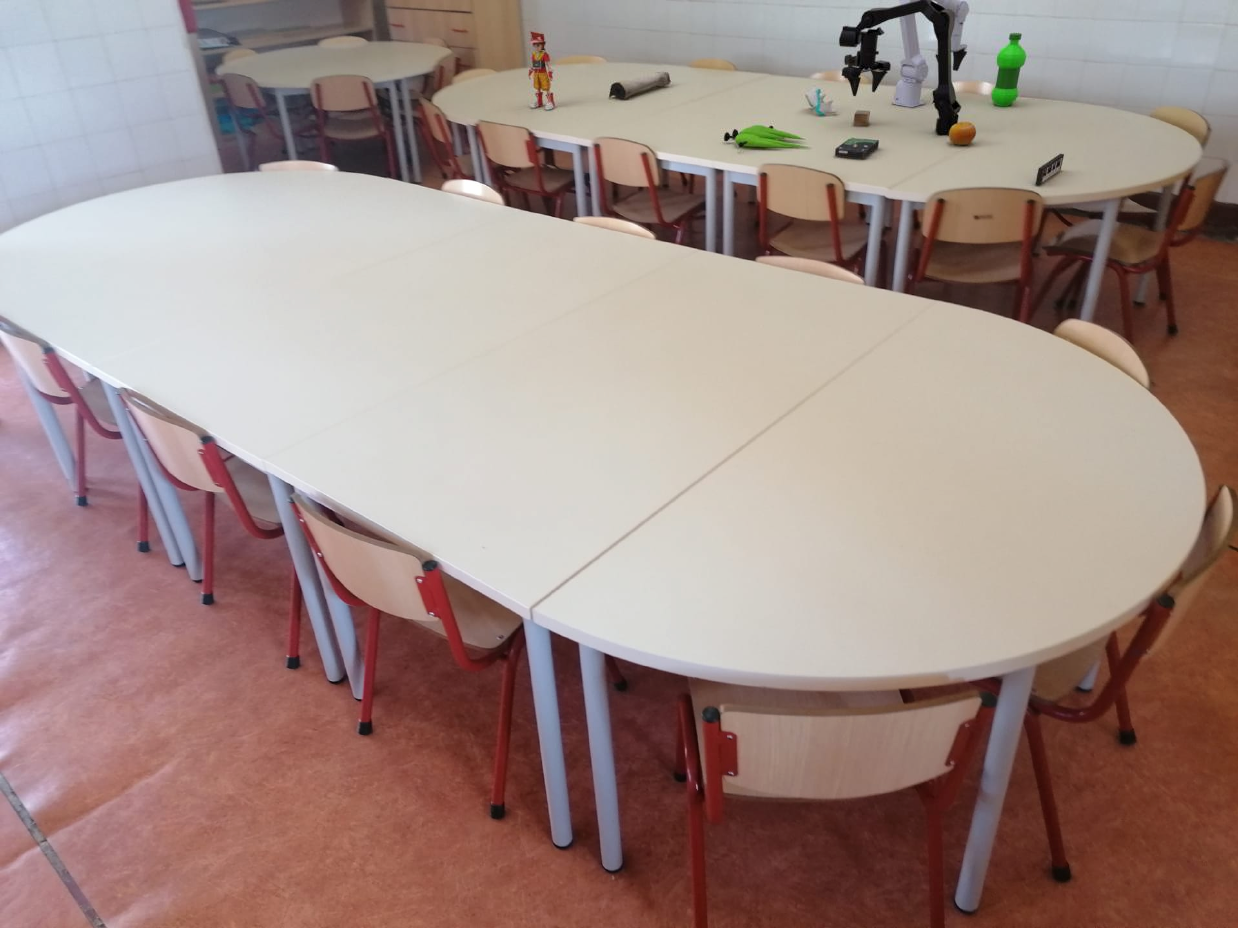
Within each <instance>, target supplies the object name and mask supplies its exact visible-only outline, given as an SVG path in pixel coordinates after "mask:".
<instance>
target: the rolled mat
mask: <svg viewBox="0 0 1238 928" xmlns="http://www.w3.org/2000/svg"><path fill="white" fill-rule="evenodd" d="M671 83H672V81H671V77H670V74H669V72H668V71H658V72H654V73H649V74H645V75H640V76H637V77H633V78H628V79H623V80H620V81H616V82H613V83H612V84H611V85H610V89H609V95H608V97H609V98H611V97H616V99H620V100H622V101H623V100H626V99H627V98H629V97H630V96H632V95H635V94H636V93H638V92H640V91H643V90H644V89H647V88H650V87H655V86H658V87H659V86H661V87H665V86H669V85H670V84H671Z"/></svg>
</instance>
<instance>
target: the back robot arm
mask: <svg viewBox="0 0 1238 928" xmlns="http://www.w3.org/2000/svg"><path fill="white" fill-rule="evenodd" d="M914 1H917V0H899V5H902V4H906V3H910V2H914ZM932 1H933V2H935V3H937V4H939V5H941V6H943V7H944V8H945V9H951V10H952V11H953V12H954V13H955V24H954V29H953V33H952V36H951V53H952V57H953V58H952V59H953V61H952V71H955V72H958V71H959V69H960V67H961V64H962V62H963V60H964V58H965V57H966V55H967V54H968V51H967V50H968V49H967V48H968V44H965V43H961V42H962V37H963V29H964V23H965V21H966V18H967V16H968V14H969V11H970V5H969V4H968V2H967V1H965V0H932ZM898 18H899V25H900V31H901V39H902V46H903V52H904V57H903V58H902V59H901V61H900V69H899V75H900V77H901V79H899V80H898V81H897V83H896V86H895V93H894V98H893V99H894V101H893V102H892V104H893V105H898V106H903V107H908V108H914V107H918V106H921V105H925V102H924V101H921V95H922V88H923V82H925V80H926V78H927V77H928V75H929V70H930V69H929V66H928V64H927V62H926V58H925V57H924V56H923V55H922V54H921V51H920V43H919V35H918V28H917V22H916V13H914V14H910V15H906V16H902V17H898ZM935 58H936V61H937V63H938V48H937V49H936V53H935Z"/></svg>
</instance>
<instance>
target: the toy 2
mask: <svg viewBox="0 0 1238 928" xmlns="http://www.w3.org/2000/svg"><path fill="white" fill-rule="evenodd" d="M730 139H734V142H735V143H736V144H737V145H738V147H739V148H743V147H752V148H753V147H758V148H762V147H763V148H807V146H806V145H800V144H796V143H790V142H786V141H782V140H783V139H791V140H804V141H806V138H804V137H801V136H798V135H796V134H792V133H789V132H787V131H782V130H778V129H775V128H774V126H773V125H769V126H768V127H767V126H765V125H762V124H761V125H760V124H757V125H752V126H748V127H745V128H743V129H741V131H738V129H737V128H734V129H733V130H732V133H731V134H730V133H729V132H728V131H726V132H725V133H724V136H723V141H724V142H728V141H730Z"/></svg>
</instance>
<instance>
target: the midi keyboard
mask: <svg viewBox="0 0 1238 928" xmlns="http://www.w3.org/2000/svg"><path fill="white" fill-rule="evenodd" d="M1064 157H1065V153H1059V154H1058V155H1056V156H1055V157H1052V159H1051V160H1049V161H1047V162H1045V164H1042V165H1041V166H1039V167H1038V169H1037V175H1036V179H1035V186H1040V185H1042V183H1044V182H1045V181H1047V180H1048V179H1049V178H1051V177H1052V176H1054V175H1055V174H1056V173H1058V172H1060V171H1061V170H1062V165H1063V161H1064Z"/></svg>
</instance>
